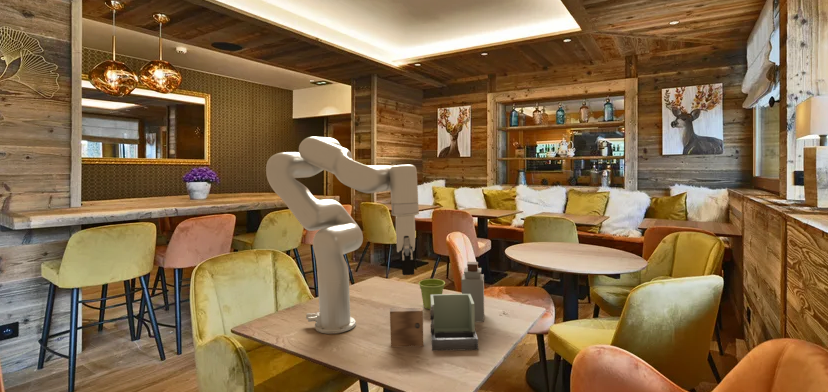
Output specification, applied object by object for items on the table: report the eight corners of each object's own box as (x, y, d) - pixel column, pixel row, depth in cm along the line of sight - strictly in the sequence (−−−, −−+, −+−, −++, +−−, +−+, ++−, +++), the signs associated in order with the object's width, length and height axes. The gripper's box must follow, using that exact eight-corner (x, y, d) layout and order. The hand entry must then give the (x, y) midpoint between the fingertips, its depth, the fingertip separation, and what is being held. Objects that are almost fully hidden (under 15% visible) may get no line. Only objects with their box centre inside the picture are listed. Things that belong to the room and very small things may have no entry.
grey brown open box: (431, 350, 112) (430, 310, 111) (430, 341, 117) (429, 303, 116) (478, 349, 111) (477, 309, 111) (475, 340, 117) (475, 302, 116)
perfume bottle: (483, 322, 131) (482, 265, 129) (462, 320, 132) (461, 265, 131) (484, 314, 137) (483, 260, 136) (463, 313, 139) (463, 260, 137)
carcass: (432, 342, 116) (431, 304, 115) (431, 330, 125) (430, 294, 124) (475, 342, 116) (474, 303, 115) (470, 329, 125) (470, 293, 124)
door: (390, 348, 114) (389, 312, 113) (391, 342, 117) (390, 308, 116) (423, 347, 114) (422, 312, 113) (423, 342, 117) (422, 307, 116)
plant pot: (450, 304, 147) (449, 280, 146) (437, 313, 139) (436, 288, 139) (427, 300, 152) (427, 277, 151) (413, 308, 144) (413, 284, 144)
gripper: (392, 207, 123) (395, 264, 124) (390, 213, 106) (393, 279, 107) (417, 205, 123) (420, 262, 124) (419, 211, 106) (422, 277, 107)
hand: (408, 270), depth 116 cm, fingers open, 9 cm apart
